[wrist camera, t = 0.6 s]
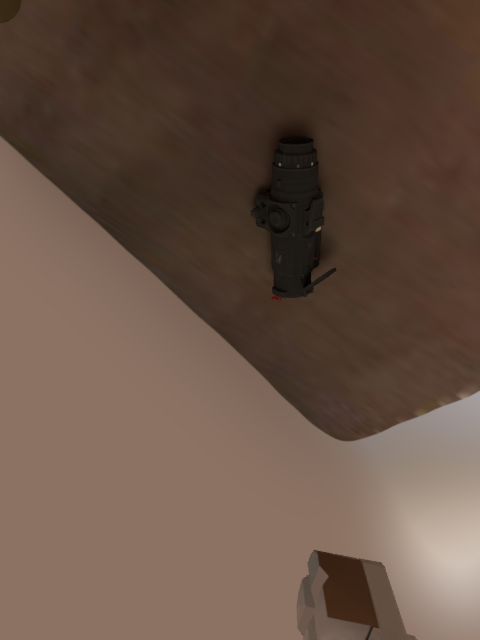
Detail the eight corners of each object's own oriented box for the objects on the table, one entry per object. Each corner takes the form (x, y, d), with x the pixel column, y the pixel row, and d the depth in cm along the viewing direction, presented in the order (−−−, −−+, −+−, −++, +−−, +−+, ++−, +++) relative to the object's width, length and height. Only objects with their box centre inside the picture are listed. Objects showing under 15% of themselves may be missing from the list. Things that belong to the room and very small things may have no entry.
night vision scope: (289, 127, 50) (368, 138, 44) (286, 269, 60) (351, 294, 54) (240, 141, 45) (321, 155, 39) (246, 292, 55) (311, 322, 49)
